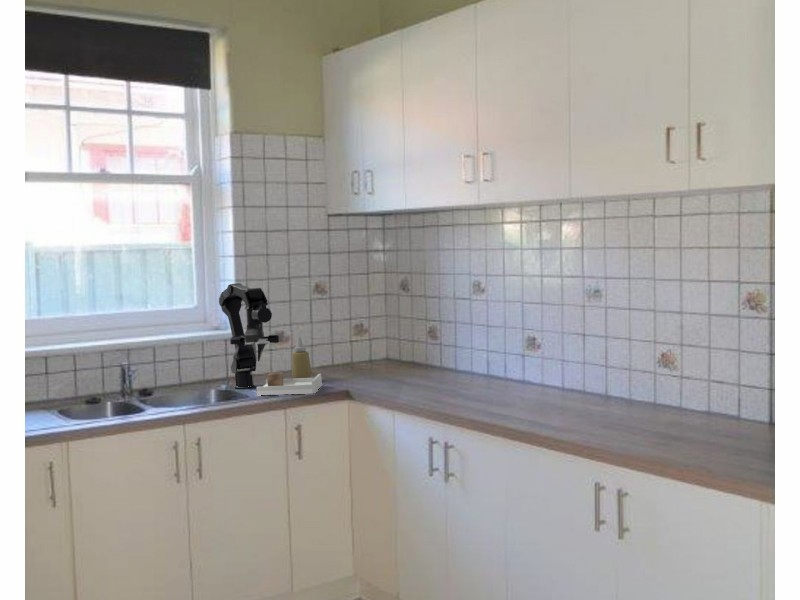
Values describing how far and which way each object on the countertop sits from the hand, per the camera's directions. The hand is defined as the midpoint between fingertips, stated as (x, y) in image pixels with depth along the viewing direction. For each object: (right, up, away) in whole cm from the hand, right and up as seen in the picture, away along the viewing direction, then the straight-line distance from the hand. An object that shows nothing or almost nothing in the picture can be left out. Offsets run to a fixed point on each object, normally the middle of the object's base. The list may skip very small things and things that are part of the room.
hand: (257, 361), depth 332 cm
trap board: (+13, -11, 0) cm, 17 cm away
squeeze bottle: (+15, -10, +19) cm, 26 cm away
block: (+7, -10, 0) cm, 12 cm away
